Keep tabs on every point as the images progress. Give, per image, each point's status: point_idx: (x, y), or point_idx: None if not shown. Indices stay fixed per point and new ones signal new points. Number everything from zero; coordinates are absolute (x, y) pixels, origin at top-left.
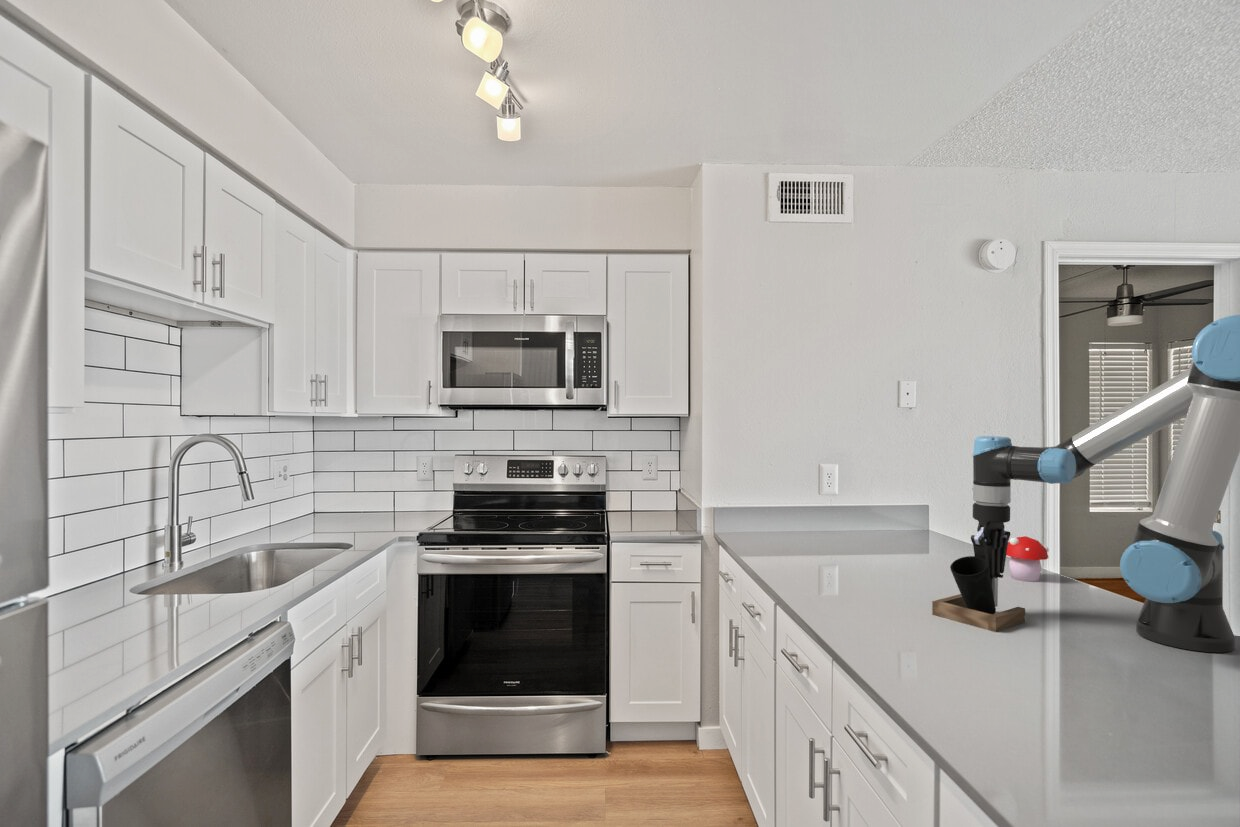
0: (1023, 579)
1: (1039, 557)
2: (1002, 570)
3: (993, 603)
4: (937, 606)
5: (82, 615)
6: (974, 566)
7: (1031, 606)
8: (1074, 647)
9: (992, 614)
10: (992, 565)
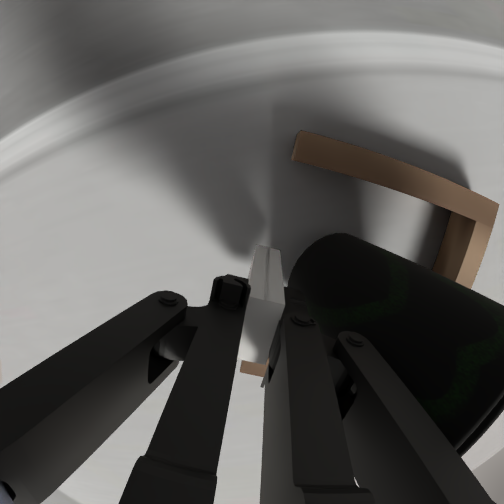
0: None
1: None
2: (175, 301)
3: (369, 246)
4: None
5: None
6: None
7: (71, 177)
8: (451, 9)
9: (475, 219)
10: (319, 369)
